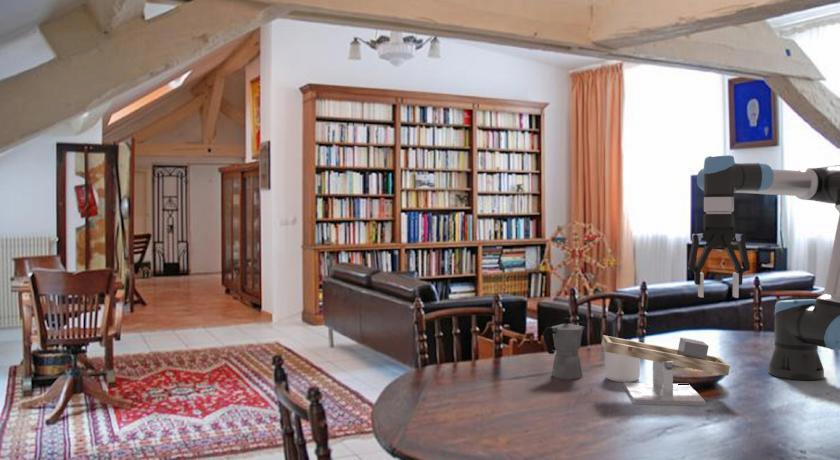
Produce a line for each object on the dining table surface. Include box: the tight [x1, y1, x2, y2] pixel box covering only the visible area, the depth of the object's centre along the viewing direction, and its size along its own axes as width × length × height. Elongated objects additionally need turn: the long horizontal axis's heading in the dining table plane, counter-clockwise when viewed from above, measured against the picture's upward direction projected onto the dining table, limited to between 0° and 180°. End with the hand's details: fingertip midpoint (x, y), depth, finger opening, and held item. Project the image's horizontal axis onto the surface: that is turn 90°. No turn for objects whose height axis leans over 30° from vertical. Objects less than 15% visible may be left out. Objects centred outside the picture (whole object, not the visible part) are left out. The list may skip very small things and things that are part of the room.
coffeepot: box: [542, 317, 586, 380], centre depth 219 cm, size 15×9×18 cm, turn 116°
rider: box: [677, 337, 709, 360], centre depth 195 cm, size 6×6×5 cm
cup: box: [604, 350, 641, 383], centre depth 215 cm, size 10×10×10 cm
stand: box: [623, 360, 707, 407], centre depth 196 cm, size 18×18×11 cm
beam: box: [601, 334, 731, 376], centre depth 196 cm, size 32×11×4 cm, turn 83°
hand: (718, 296), depth 193 cm, fingers open, 8 cm apart
